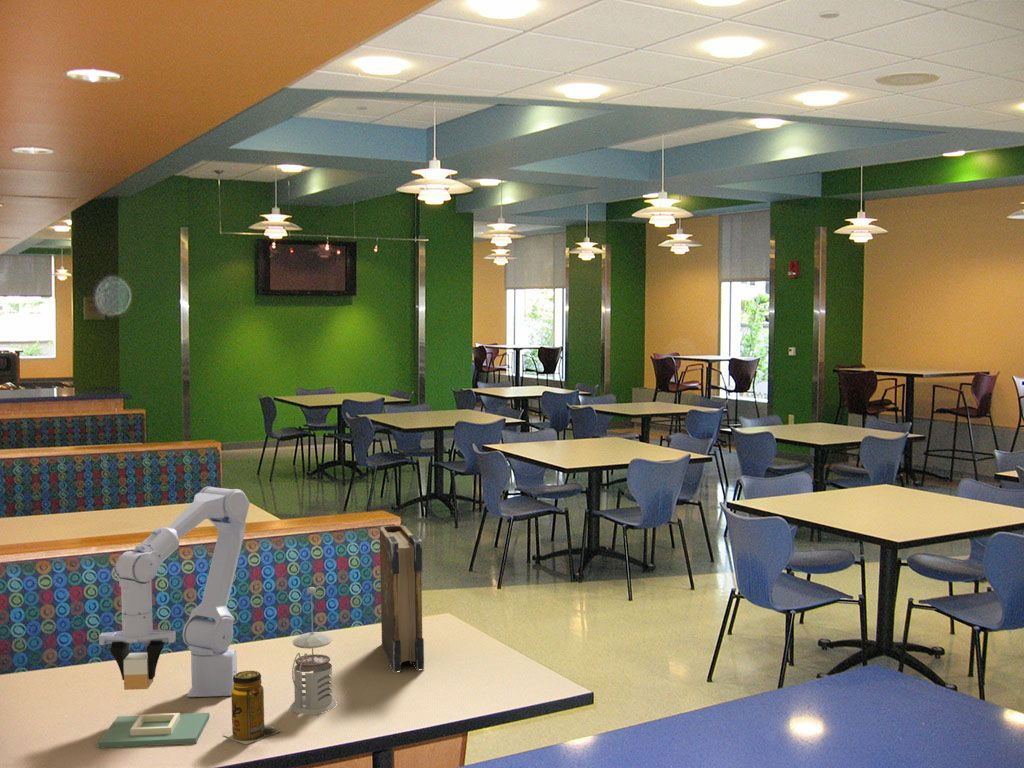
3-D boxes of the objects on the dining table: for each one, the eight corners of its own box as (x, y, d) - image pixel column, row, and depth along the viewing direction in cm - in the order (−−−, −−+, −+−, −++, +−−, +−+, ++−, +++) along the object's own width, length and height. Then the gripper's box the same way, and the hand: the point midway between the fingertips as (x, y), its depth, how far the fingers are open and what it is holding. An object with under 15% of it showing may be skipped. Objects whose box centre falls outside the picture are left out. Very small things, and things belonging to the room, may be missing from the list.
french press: (346, 699, 217) (344, 583, 216) (318, 719, 206) (316, 597, 205) (305, 694, 221) (302, 579, 219) (275, 714, 210) (273, 593, 208)
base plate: (209, 717, 208) (209, 706, 208) (196, 743, 195) (195, 731, 195) (117, 721, 206) (117, 710, 206) (98, 747, 194) (97, 736, 193)
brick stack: (153, 681, 209) (152, 652, 209) (147, 689, 205) (146, 659, 205) (130, 682, 209) (129, 653, 209) (124, 689, 205) (123, 660, 204)
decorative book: (424, 670, 236) (422, 540, 234) (393, 673, 234) (391, 542, 232) (406, 640, 258) (405, 521, 257) (378, 642, 256) (376, 523, 255)
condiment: (223, 736, 199) (221, 675, 198) (259, 722, 205) (258, 663, 205) (245, 745, 194) (244, 683, 193) (282, 732, 201) (281, 671, 200)
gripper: (93, 618, 202) (95, 686, 202) (169, 616, 203) (170, 683, 204) (104, 608, 209) (106, 674, 209) (177, 606, 210) (179, 671, 211)
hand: (138, 678), depth 207 cm, fingers closed on brick stack, 4 cm apart
